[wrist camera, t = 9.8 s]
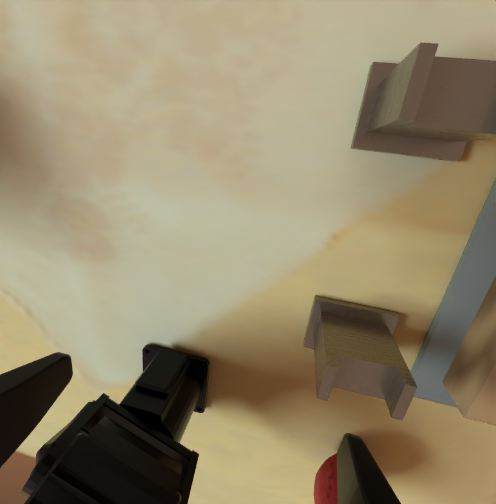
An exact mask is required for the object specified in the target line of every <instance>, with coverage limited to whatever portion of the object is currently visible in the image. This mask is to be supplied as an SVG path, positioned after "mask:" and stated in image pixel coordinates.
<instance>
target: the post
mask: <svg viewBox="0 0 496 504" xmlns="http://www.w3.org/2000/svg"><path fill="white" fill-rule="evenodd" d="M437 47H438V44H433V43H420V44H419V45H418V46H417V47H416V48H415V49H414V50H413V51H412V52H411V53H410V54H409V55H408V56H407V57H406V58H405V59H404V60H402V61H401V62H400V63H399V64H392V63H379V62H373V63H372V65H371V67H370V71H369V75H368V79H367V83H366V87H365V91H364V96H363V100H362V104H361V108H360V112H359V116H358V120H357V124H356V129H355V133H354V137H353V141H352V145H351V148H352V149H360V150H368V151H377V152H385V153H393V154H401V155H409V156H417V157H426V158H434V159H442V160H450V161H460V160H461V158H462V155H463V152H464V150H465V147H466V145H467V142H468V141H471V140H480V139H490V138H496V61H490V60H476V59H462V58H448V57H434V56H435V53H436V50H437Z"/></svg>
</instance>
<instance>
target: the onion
mask: <svg viewBox="0 0 496 504" xmlns="http://www.w3.org/2000/svg"><path fill="white" fill-rule="evenodd" d="M337 454H338V453H336V454H335V455H333V456H331V457H329V458H328V459H327V460H326V461H325V462H324V463H323V464H322V466H321V467H320V469H319V470H318V472H317V474H316V478H315V484H314V501H315V504H338V487H337Z"/></svg>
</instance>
